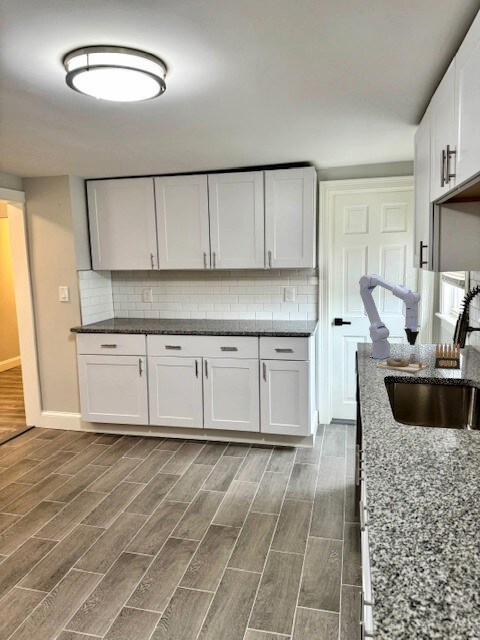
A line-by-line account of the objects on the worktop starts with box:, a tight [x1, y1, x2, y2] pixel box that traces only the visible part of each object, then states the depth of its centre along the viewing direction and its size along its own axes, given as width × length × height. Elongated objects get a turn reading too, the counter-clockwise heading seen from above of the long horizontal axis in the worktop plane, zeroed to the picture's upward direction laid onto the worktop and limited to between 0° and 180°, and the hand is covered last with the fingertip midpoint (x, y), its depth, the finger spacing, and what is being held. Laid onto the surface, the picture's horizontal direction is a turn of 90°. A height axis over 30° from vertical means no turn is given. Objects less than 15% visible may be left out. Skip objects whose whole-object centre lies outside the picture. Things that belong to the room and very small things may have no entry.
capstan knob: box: [386, 353, 416, 367], centre depth 214 cm, size 14×10×4 cm
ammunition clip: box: [434, 342, 461, 370], centre depth 206 cm, size 11×2×12 cm, turn 71°
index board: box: [375, 360, 430, 374], centre depth 213 cm, size 16×19×3 cm
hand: (411, 343), depth 220 cm, fingers open, 6 cm apart
